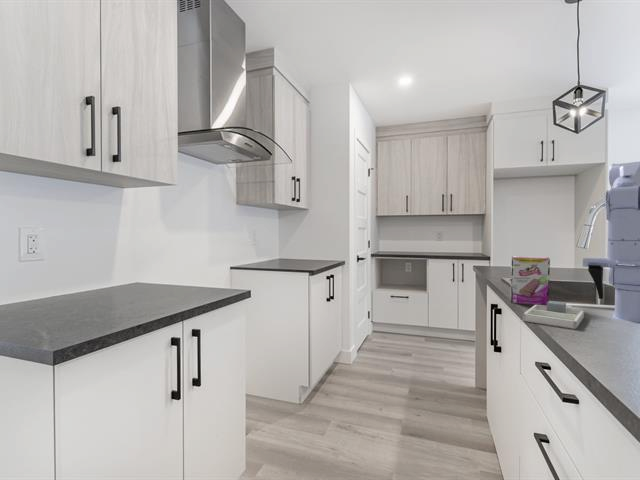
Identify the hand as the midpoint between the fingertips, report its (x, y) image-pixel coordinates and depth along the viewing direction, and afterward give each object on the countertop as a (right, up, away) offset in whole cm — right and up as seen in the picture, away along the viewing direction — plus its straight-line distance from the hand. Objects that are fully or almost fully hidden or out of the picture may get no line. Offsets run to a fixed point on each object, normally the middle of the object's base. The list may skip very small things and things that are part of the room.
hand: (622, 300), depth 78 cm
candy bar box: (+3, -9, +40) cm, 41 cm away
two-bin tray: (-2, -9, +20) cm, 22 cm away
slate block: (0, -9, +22) cm, 24 cm away
